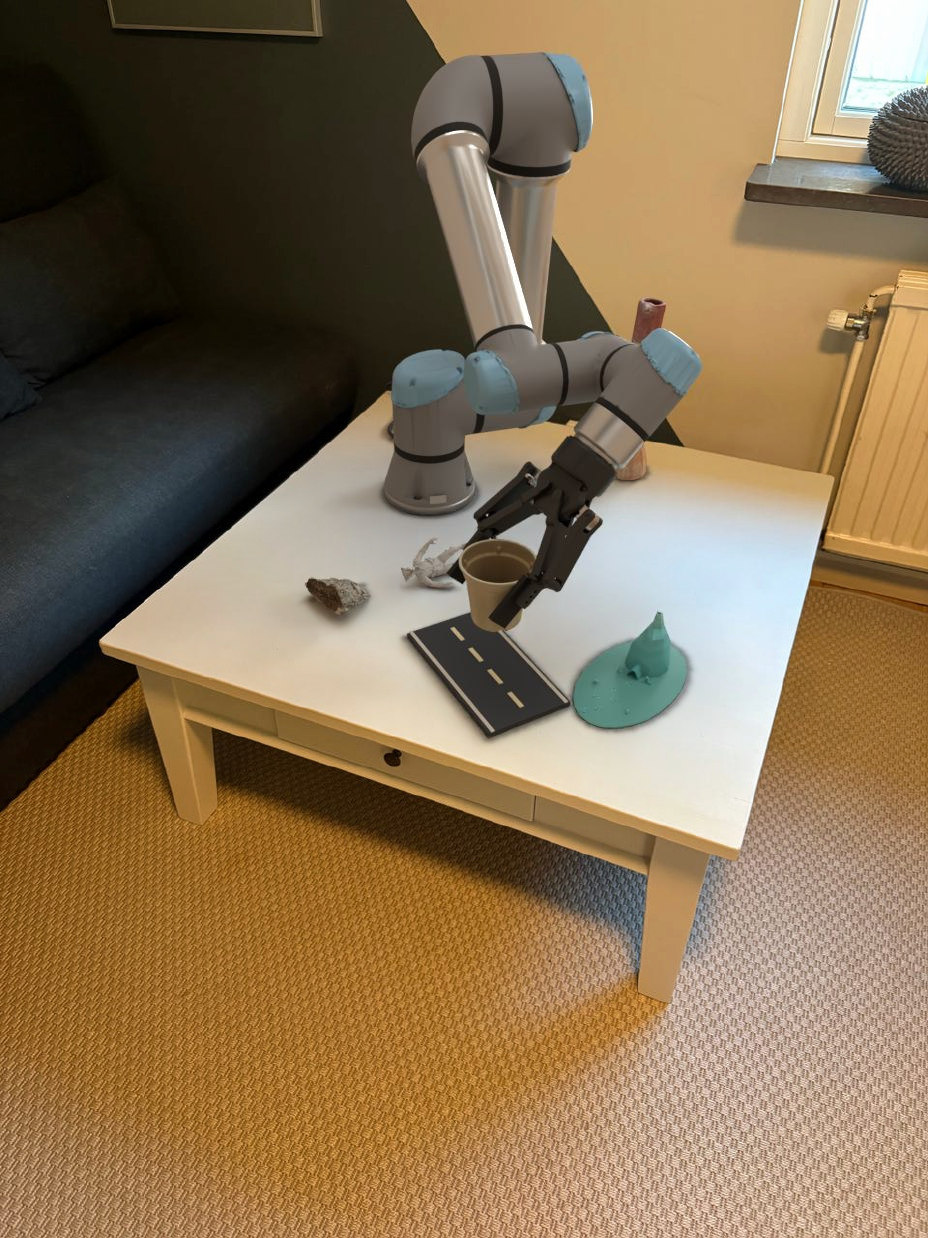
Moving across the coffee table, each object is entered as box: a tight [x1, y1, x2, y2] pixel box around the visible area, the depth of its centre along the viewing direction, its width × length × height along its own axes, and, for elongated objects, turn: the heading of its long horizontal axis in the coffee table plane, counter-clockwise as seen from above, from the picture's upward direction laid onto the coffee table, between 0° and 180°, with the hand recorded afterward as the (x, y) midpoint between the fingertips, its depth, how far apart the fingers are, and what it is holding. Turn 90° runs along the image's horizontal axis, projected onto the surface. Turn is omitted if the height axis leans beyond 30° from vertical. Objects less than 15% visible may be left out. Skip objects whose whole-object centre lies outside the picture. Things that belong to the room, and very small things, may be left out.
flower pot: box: [458, 538, 537, 632], centre depth 115 cm, size 9×9×9 cm
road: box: [406, 611, 571, 739], centre depth 125 cm, size 22×12×1 cm, turn 30°
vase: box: [615, 296, 667, 481], centre depth 160 cm, size 11×7×30 cm
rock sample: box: [304, 576, 371, 616], centre depth 135 cm, size 10×8×9 cm
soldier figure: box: [400, 537, 468, 589], centre depth 141 cm, size 8×5×12 cm
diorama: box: [572, 611, 688, 730], centre depth 121 cm, size 12×20×9 cm, turn 141°
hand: (474, 600), depth 114 cm, fingers closed on flower pot, 9 cm apart
